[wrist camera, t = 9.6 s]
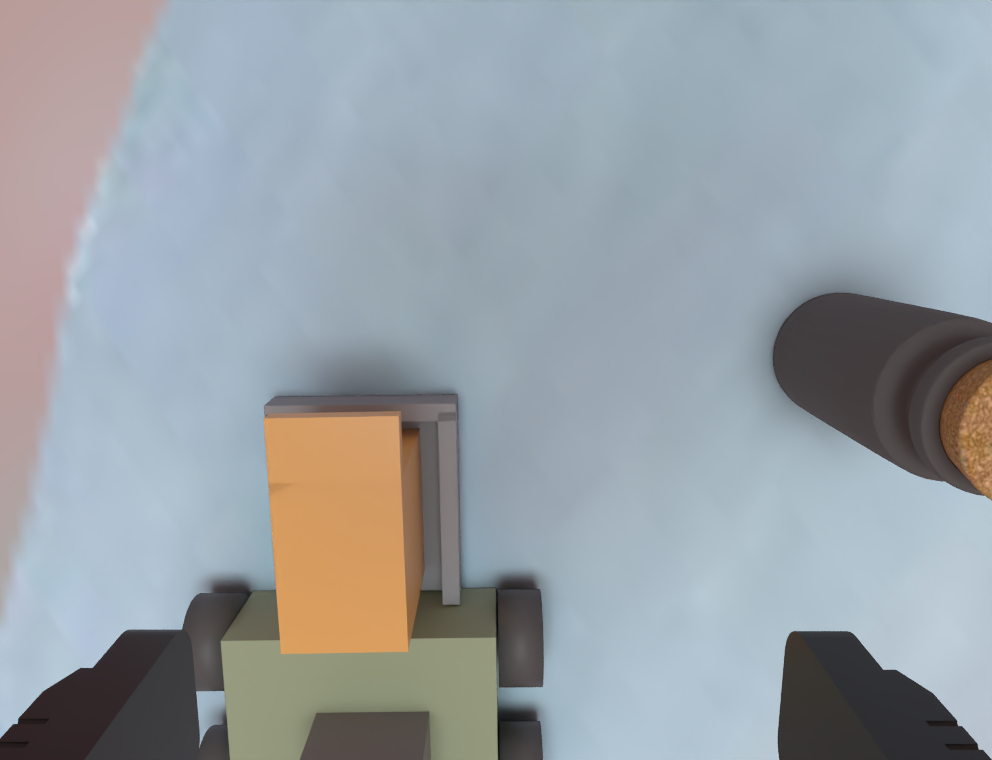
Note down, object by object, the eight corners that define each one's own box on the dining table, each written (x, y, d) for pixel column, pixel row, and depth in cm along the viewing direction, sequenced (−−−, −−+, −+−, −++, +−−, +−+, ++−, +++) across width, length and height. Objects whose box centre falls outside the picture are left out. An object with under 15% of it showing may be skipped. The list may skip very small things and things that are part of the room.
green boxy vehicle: (195, 397, 39) (107, 448, 30) (537, 393, 39) (550, 443, 30) (226, 784, 43) (157, 929, 34) (538, 780, 43) (550, 924, 34)
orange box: (310, 378, 39) (263, 418, 31) (417, 376, 39) (398, 415, 31) (322, 570, 40) (280, 654, 33) (424, 568, 40) (408, 651, 33)
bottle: (778, 288, 38) (956, 330, 24) (904, 294, 38) (1160, 340, 24) (765, 412, 39) (927, 525, 25) (887, 417, 39) (1122, 533, 25)
